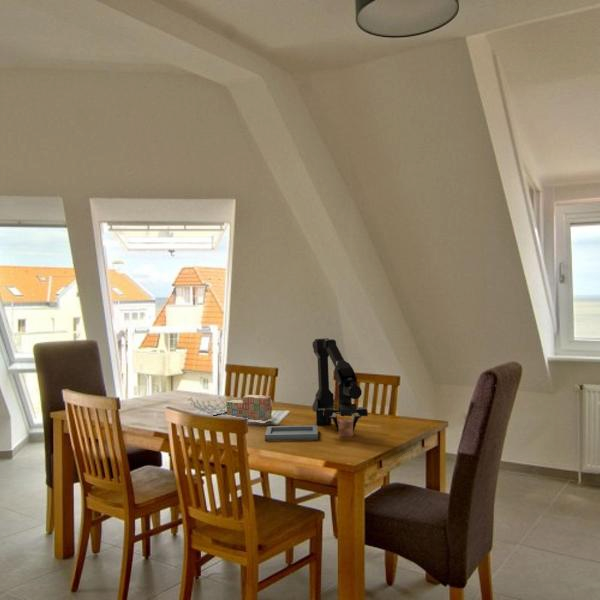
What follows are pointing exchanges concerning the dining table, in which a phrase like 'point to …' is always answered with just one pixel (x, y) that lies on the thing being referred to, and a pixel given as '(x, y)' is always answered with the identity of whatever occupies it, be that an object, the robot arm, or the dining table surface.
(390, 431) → the dining table surface
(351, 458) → the dining table surface
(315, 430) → the tray
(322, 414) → the robot arm
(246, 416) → the stack of blocks
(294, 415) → the dining table surface
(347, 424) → the cube
